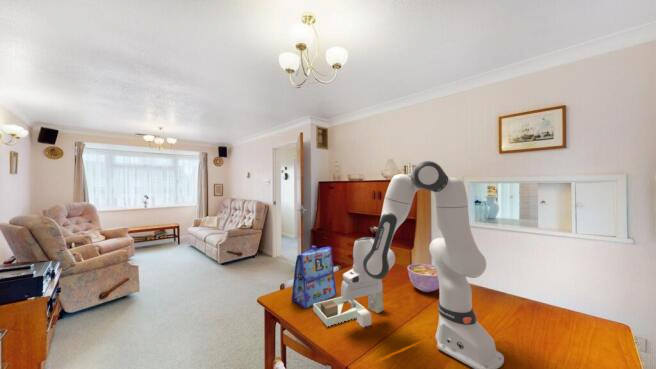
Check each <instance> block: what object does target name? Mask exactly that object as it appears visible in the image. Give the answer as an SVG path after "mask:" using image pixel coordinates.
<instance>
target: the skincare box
mask: <svg viewBox="0 0 656 369" xmlns="http://www.w3.org/2000/svg"><path fill="white" fill-rule="evenodd" d="M383 287H384V285H382V291H381V292H379V293H375V297H374V299H373V303H371V304H370V303H369V302H367V303H368V309H369V310H371V311H372V312H374V313H376V314H379V313H381V312H383V311H384V295H383V292H384V291H383V290H384V289H383ZM367 296H368V297H367V299H368V298H370V296H371V294H370V295H367Z"/></svg>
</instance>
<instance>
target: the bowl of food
mask: <svg viewBox="0 0 656 369" xmlns="http://www.w3.org/2000/svg"><path fill="white" fill-rule="evenodd" d="M407 273H408V277H409V280H410V282H411V284H412V285H413V287H415V288H416V289H418V290H419V291H421V292H424V293H431V292H434V291H436V290H438V289H439V280H438V275H437V271H436V267H435V265H432V264H429V263H428V264H427V263H413V264H410V265H408V266H407Z"/></svg>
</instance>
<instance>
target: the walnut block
mask: <svg viewBox="0 0 656 369" xmlns="http://www.w3.org/2000/svg"><path fill="white" fill-rule="evenodd" d="M329 300H330V299H329ZM325 301H326V300H325ZM321 312H322V313H323V314H324V315H325V316H326V317H327V318H329V317H332V316H336V315H338V305H337V304H336V303H335V302H334V301H332V300H330V301H326V302H322V303H321Z"/></svg>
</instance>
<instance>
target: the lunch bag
mask: <svg viewBox="0 0 656 369" xmlns="http://www.w3.org/2000/svg"><path fill="white" fill-rule="evenodd" d="M335 279H336V278H335V273H334V262H333V250H332V247H331V246H326V247H321V248H317V246H316V245H312V246H311V249H310V250H308V251H304V252H302V253H300V254H297V255H296V260H295V266H294V277H293V283H292V291H291V292H292V294H291V301H293V302H295V303H297V304H299V305H300V306H301V307H302V308H303V309H308V308H310V307H313V304H314V303H318V302H322V301H326V300H330V299H332V298H334V297H336V296H337V295H338V292H337V287H336V280H335Z"/></svg>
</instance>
